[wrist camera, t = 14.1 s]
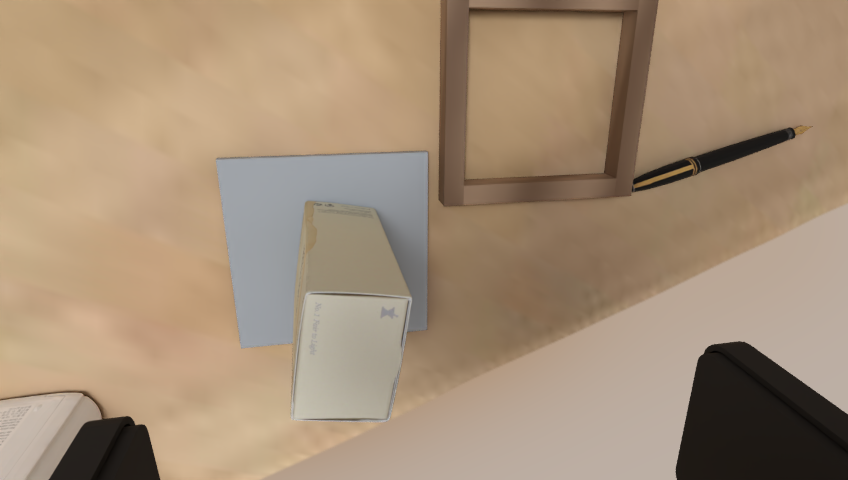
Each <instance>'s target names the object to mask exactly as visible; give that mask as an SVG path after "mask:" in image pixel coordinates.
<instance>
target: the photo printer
mask: <svg viewBox="0 0 848 480" xmlns="http://www.w3.org/2000/svg"><path fill="white" fill-rule="evenodd" d="M101 419H102V417H101V413H100V410H99V408H98V406H97V405H96V404H95V403H94V402H93V401H92V400H91V399H90V398H89V397H86V396H84V395H83V394H82V393H56V394H47V395H38V396H30V397H23V398H15V399H7V400H0V480H49V478H50V477H51V475H52V474H53V472H54V470H55V469H56V467H57V465H58V464H59V462H60V461H61V459H62V457H63V456H64V454H65V453H66V451H67V449H68V448H69V446H70V444H71V443H72V441H73V440H74V438H75V436H76V435H77V433H78V432H79V430H80V428H81V427H82V426H83V425H84V423H86V422H88V421H93V420H101Z"/></svg>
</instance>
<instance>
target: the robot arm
mask: <svg viewBox="0 0 848 480" xmlns="http://www.w3.org/2000/svg"><path fill="white" fill-rule="evenodd" d="M676 478H677V480H848V414H846V413H845V412H844V411H842V410H841V409H839V408H838V407H836V406H835V405H834V404H832V403H831V402H830V401H828V400H827V399H825V398H824V397H823V396H821V395H820V394H818V393H817V392H816V391H814V390H813V389H811V388H810V387H808V386H807V385H806V384H804V383H803V382H802V381H800V380H799V379H797V378H796V377H795V376H793V375H792V374H790V373H789V372H787V371H786V370H785V369H783V368H782V367H780V366H779V365H778V364H776V363H775V362H773V361H772V360H771V359H769V358H768V357H766V356H765V355H764V354H762V353H761V352H759V351H758V350H757V349H755V348H754V347H752V346H751V345H749V344H747V343H745V342H740V341H739V342H730V343H723V344H714V345H711V346H709V347H708V348H707V349H706V350H705V352H704V354H703V355H701V356H700V357H699V359H698V363H697V367H696V372H695V377H694V381H693V387H692V392H691V396H690V401H689V406H688V411H687V416H686V421H685V426H684V431H683V436H682V441H681V445H680V450H679V455H678V460H677V465H676ZM49 480H160V477H159V473H158V469H157V465H156V461H155V457H154V453H153V449H152V445H151V441H150V437H149V433H148V430H147V428H146V426H145V425H142V424H141V425H135V423H134V421H133V419H132V418H131V417H128V416H126V417H118V418H109V419H101V420H93V421H88V422H86V423H84V425H83V426H82V427H81V428H80V430H79V432H78V433H77V435H76V436H75V438H74V440H73V441H72V443H71V444H70V446H69V448H68V449H67V451H66V453H65V454H64V456H63V457H62V459H61V461H60V462H59V464H58V465H57V467H56V469H55V470H54V472H53V474H52V475H51V477H50V478H49Z"/></svg>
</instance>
